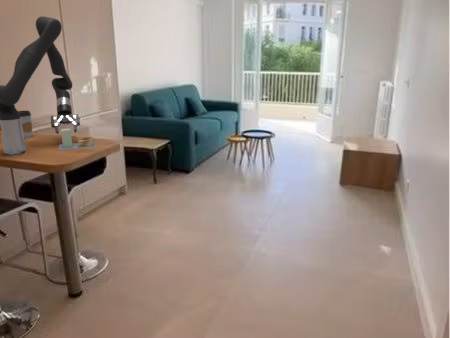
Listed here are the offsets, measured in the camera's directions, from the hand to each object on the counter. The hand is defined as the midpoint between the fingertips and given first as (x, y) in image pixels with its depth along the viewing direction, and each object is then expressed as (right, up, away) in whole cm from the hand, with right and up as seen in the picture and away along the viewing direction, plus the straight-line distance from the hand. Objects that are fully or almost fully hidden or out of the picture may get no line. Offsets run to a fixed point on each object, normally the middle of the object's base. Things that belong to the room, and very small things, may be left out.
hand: (66, 132), depth 196 cm
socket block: (+9, -6, +3) cm, 12 cm away
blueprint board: (+5, -8, +2) cm, 9 cm away
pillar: (+1, -7, 0) cm, 7 cm away
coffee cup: (-34, 0, +25) cm, 43 cm away
